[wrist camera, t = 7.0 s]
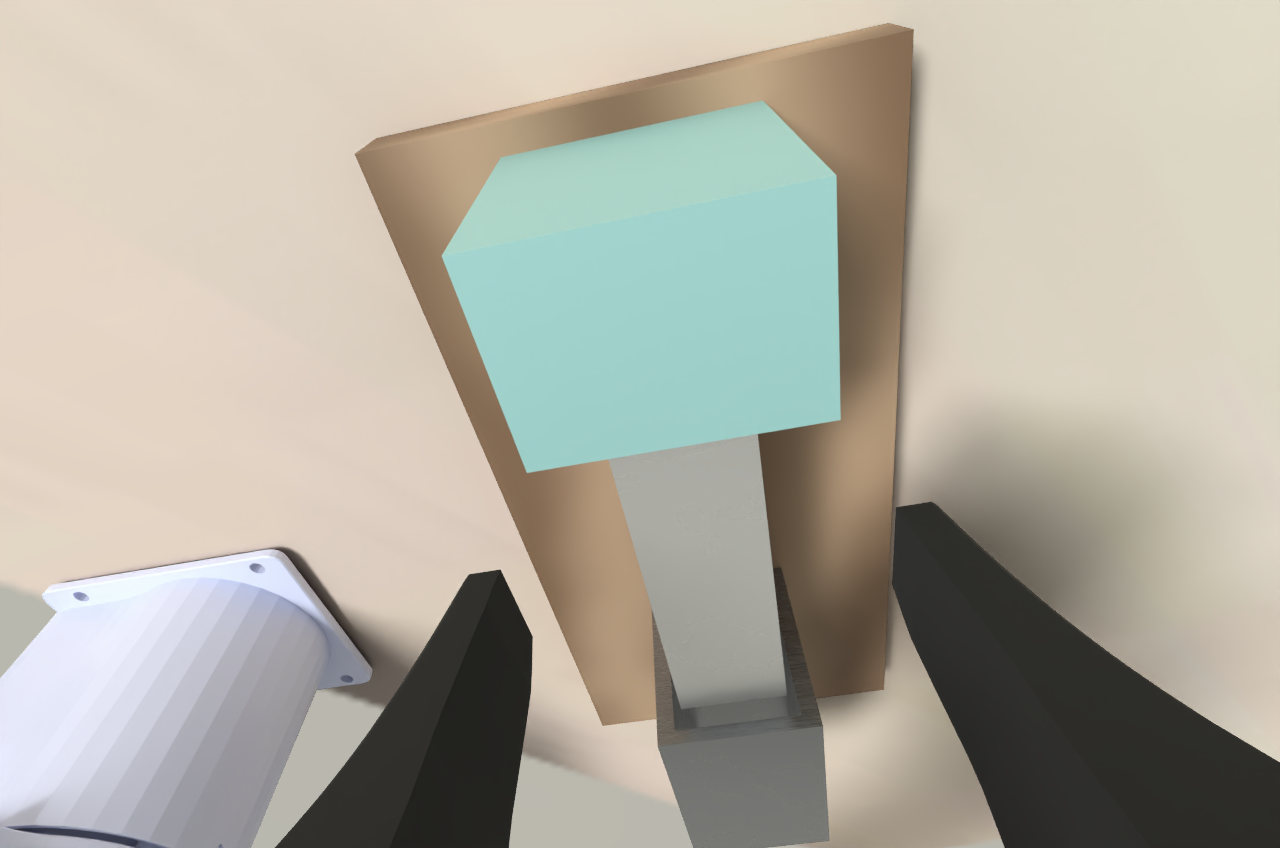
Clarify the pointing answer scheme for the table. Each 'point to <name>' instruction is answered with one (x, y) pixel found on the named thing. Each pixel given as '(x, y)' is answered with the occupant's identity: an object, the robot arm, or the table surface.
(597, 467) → the walnut board
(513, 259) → the teal socket block
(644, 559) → the grey rectangular bar
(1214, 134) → the table surface
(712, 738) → the grey sleeve
